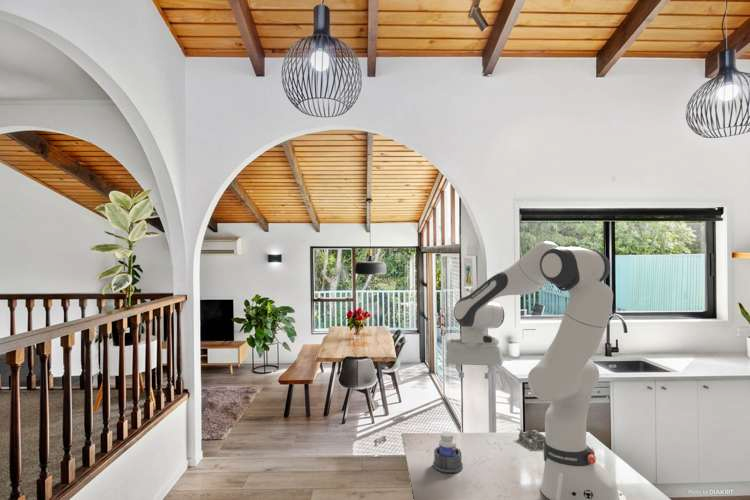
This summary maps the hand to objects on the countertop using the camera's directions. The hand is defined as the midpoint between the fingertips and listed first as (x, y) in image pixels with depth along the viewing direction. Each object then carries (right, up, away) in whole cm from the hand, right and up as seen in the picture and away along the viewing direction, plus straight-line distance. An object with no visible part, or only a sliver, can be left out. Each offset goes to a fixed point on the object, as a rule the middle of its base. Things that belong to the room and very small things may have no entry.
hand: (474, 378), depth 158 cm
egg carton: (+23, -26, +5) cm, 35 cm away
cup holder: (-12, -25, -13) cm, 31 cm away
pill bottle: (-12, -25, -13) cm, 30 cm away
